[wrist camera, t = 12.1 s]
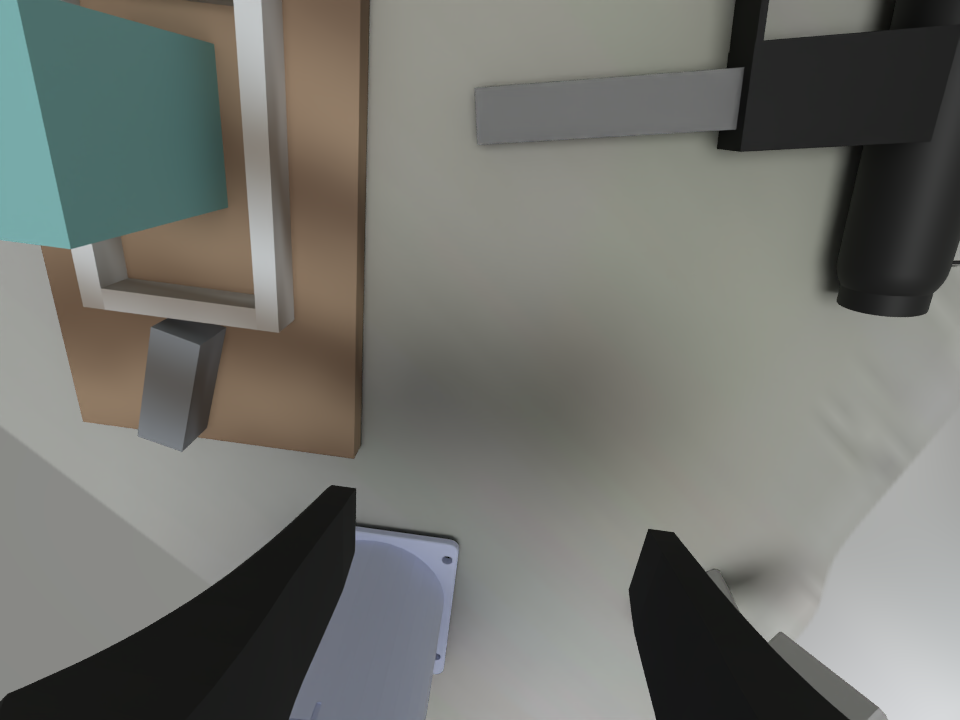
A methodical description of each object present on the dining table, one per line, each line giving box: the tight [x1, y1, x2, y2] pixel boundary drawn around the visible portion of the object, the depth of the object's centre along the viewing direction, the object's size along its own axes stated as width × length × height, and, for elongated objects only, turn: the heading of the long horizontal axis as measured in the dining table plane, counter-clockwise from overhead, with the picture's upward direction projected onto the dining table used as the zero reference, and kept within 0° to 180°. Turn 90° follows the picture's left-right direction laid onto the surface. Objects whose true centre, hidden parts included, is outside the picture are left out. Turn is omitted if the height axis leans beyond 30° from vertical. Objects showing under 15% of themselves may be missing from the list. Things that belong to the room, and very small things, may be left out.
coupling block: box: [0, 0, 228, 249], centre depth 14 cm, size 3×5×7 cm, turn 174°
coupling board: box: [41, 0, 370, 459], centre depth 17 cm, size 23×12×3 cm, turn 174°
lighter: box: [706, 569, 888, 720], centre depth 21 cm, size 7×2×8 cm, turn 120°
